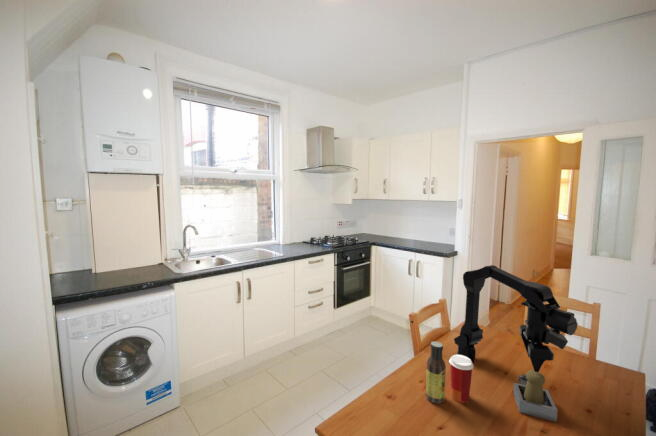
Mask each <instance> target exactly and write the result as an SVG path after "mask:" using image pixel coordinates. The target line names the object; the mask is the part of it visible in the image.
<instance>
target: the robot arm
mask: <svg viewBox="0 0 656 436" xmlns="http://www.w3.org/2000/svg"><path fill="white" fill-rule="evenodd" d="M489 278H491V279H492V280H495V281H497V282H499V283H501V284H502V285H505V286H507V287H509V288H510V289H513V290H514V291H516V292H518V294H520V296H521V297H522V298H523V299H525V301H522V302H521V303H520V305H522V306H525V307H527V310H526V311H527V312H526V319H525V320H524V323H525V324H522V325H520V326H519V333H520V337H521V340H522V343H523V346H524V348H525V351H526V354H527V356H528V358H529V359H530V362H531V365H532V368H533V370H534V371H535V372H540V370H541V368H542V366H543V365H544V363H545V362H546V361H554V358H555V357H554V356H555V355H554V354H555V353H553V351H552V349H551V347H549V346H548V345H549V344H552V345H554V346H556V347H558V348H559V349H560V350H564V349H565V347H566V345H567V344H568V343H569V340H568V339H567V338H566V337H565V336H564V335H563V334H565V335H569V336H572V335H574V334H575V333H576V331H577V329H578V321H577V318H576V317H575V313H573V312H570V311H567V310H563V309H560V308H561V306H560V304H559V303H558V301H557V299H556V298H555V296H554V294H553V291H552V289H551V287H549V286H547V285H546V284H543V283H542V284H541V283H538V282H534V281H529V280H528V281H527V280H524V279H523V278H521V277H518V276H516V275H515V274H512V273H510V272H507V271H506V270H503V269H502V268H500V267H498V266H496V265H494V264H493V265H492V264H491V265H485V266H483V267H481V268H478V269H473V270H468V271H465V272H464V273H463V275H462V280H463V281H462V282H463V286H464V288H465V291H466V301H465V316H464V322H463V325H462V326H461V328H460V332H459V335H458V336H455V337H454V339H453V341H454V344H455V345H456V346H457V352H456V355H463V356H466V357H468V358H469V359H471V361H472V364H474V363H475V359H476V347H475V346H476V345H478V344H479V342H481V341H482V339H484V336H483V333H484V329H482V328H480V326H479V324H478V323H479V309H480V308H479V307H480V295H481V294H480V293H481V290H482V289H483V288H484V286H485V283H486V279H489ZM544 303H546V304H544ZM548 327H549V328H548ZM562 333H563V334H562ZM544 344H545V345H544Z"/></svg>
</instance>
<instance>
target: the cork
mask: <svg viewBox="0 0 656 436" xmlns="http://www.w3.org/2000/svg"><path fill="white" fill-rule="evenodd" d="M525 375H526V378H527V384H526V388H525V392H524V397H523V400H525V401H529V402H534V403H538V404H542V405H544V396H543V389H544V388H543V385H544V384H545V383H546V379H545V376H544V375H543V373H541V372H540V371H539V372H535V371H534V369H529V370H527V371H526V373H525Z"/></svg>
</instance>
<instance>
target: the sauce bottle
mask: <svg viewBox="0 0 656 436" xmlns="http://www.w3.org/2000/svg"><path fill="white" fill-rule="evenodd" d="M430 349H431V350H430V356H429V358H428V359H427V361H426V374H425V375H426V376H425V377H426V378H425V380H426V381H425V383H426V384H425V396H426V398H427V400H428V401H429V402H431V403H433V404H434V403H435V404H441V403H443V402H444V401H445V397H446V396H445V395H446V374H447V373H446V371H447V370H446V369H447V368H446V367H447V366H446V362H445V360H444V359H443V350H444V345H443V343H441V342H440V341H431V342H430Z"/></svg>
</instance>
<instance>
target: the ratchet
mask: <svg viewBox="0 0 656 436" xmlns="http://www.w3.org/2000/svg"><path fill="white" fill-rule="evenodd" d="M517 379H518V381H519V382H518V383H517V382H513V391H512V392H513V396H514V400H515V402H516V405H517V409H518V412H519V414H524V415H527V416H531V417H535V418H539V419H544V420H548V421H550V422H554V423H555V422H556V423H558V422H557V421H558V411H559V410H558V407H556V404H555V402H554V400H553V398H552V396H551V393H550V392H549V390H548V389H544V388H543V396H544V405H542V404H538V403H534V402H529V401H525V400H523V397H524V392H525V388H526V384H527V378H526V374H523V373H522V374H519V376H518V377H517Z"/></svg>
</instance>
